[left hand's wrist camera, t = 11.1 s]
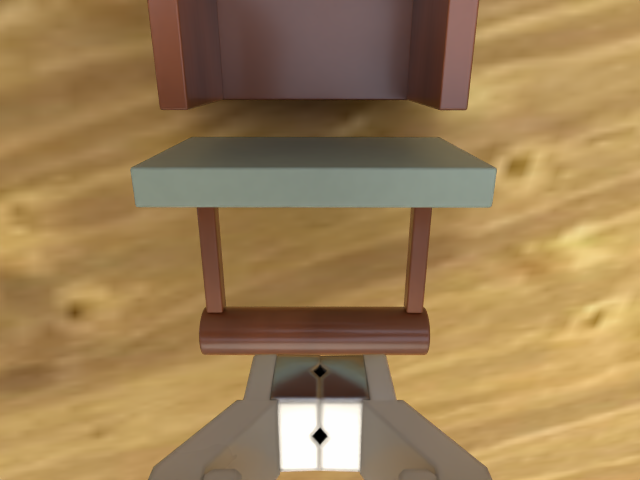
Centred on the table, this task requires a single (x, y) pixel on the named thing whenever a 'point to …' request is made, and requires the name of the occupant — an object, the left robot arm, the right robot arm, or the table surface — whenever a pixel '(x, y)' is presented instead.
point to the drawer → (313, 145)
